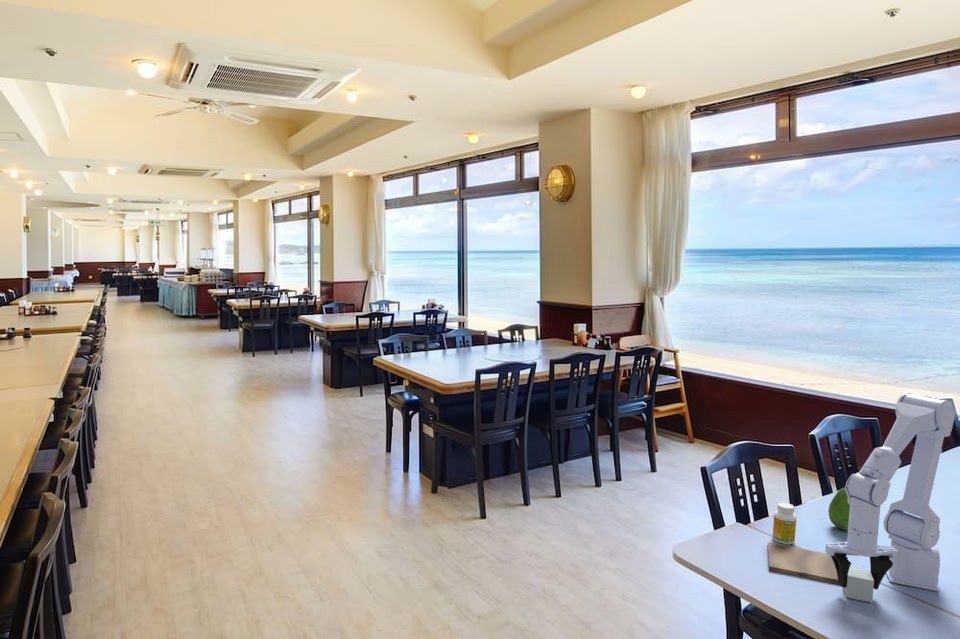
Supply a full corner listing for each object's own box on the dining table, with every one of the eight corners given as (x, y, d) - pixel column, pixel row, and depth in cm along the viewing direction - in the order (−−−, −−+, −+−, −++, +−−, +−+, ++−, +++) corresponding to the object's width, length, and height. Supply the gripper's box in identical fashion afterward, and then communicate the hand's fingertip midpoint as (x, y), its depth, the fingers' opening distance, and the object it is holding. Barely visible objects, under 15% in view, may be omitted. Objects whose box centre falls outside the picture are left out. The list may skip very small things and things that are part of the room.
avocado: (851, 537, 172) (855, 494, 171) (822, 527, 178) (825, 486, 177) (864, 530, 176) (868, 489, 175) (835, 520, 183) (839, 480, 182)
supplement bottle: (782, 545, 166) (785, 510, 165) (767, 536, 171) (770, 502, 170) (799, 543, 167) (802, 508, 166) (784, 535, 172) (787, 500, 171)
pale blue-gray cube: (868, 591, 143) (870, 570, 142) (872, 602, 138) (874, 580, 138) (843, 586, 145) (844, 566, 144) (846, 597, 140) (847, 575, 140)
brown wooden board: (837, 559, 159) (837, 555, 159) (844, 585, 146) (844, 581, 146) (767, 546, 165) (767, 542, 165) (768, 570, 152) (769, 566, 152)
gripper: (886, 522, 143) (881, 579, 145) (821, 519, 144) (816, 575, 146) (905, 535, 136) (899, 595, 138) (836, 532, 137) (831, 591, 139)
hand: (858, 586), depth 141 cm, fingers closed on pale blue-gray cube, 6 cm apart
